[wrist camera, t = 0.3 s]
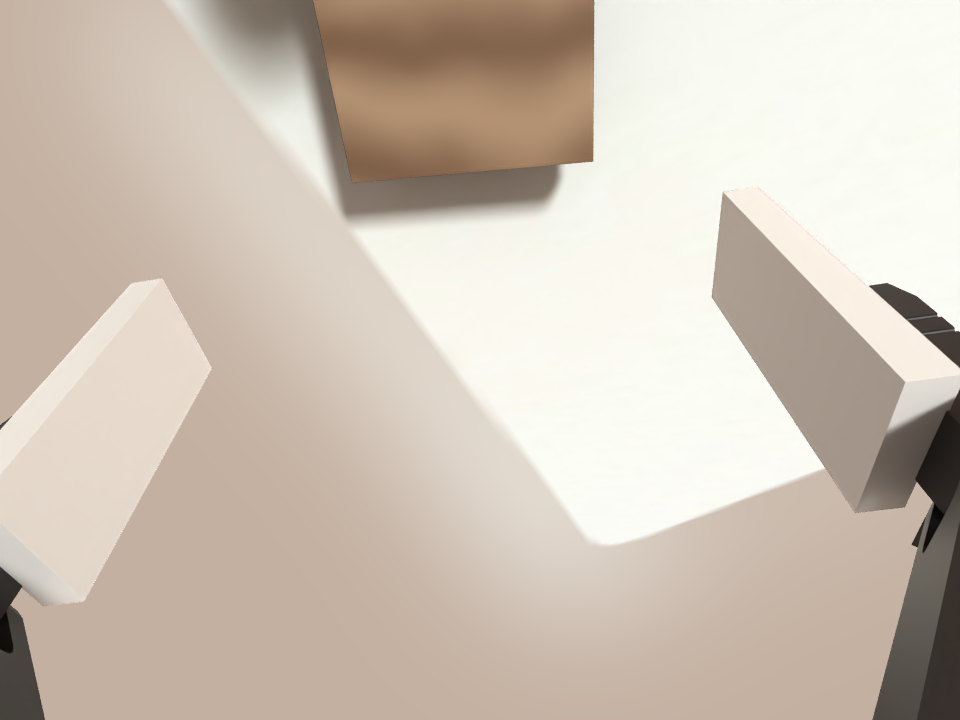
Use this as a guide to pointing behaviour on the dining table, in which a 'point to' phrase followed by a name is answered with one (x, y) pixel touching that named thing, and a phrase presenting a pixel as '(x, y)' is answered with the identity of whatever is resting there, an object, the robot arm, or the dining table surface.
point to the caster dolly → (459, 84)
